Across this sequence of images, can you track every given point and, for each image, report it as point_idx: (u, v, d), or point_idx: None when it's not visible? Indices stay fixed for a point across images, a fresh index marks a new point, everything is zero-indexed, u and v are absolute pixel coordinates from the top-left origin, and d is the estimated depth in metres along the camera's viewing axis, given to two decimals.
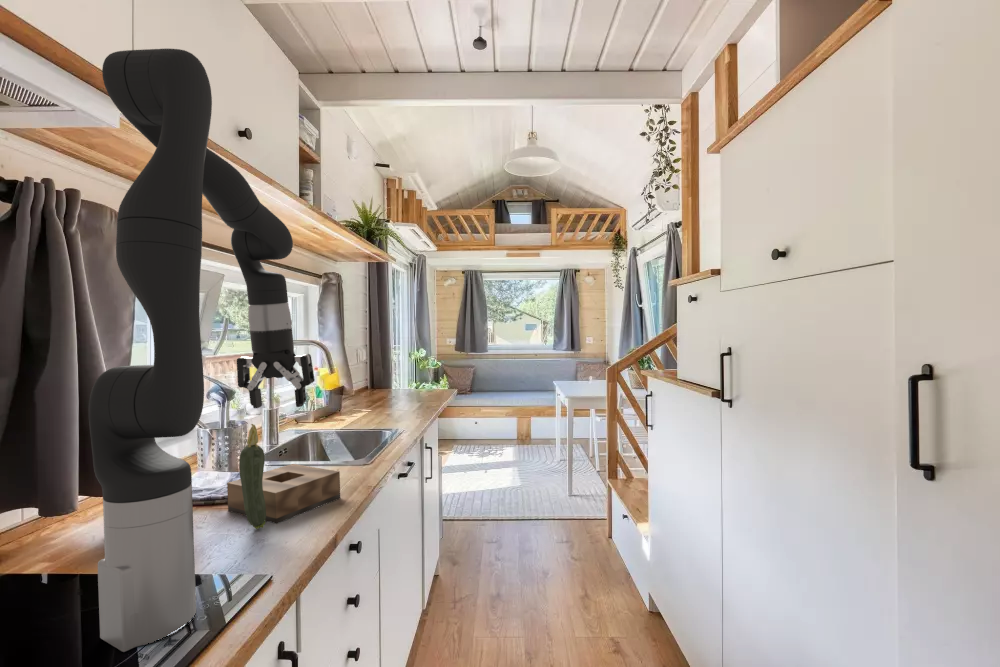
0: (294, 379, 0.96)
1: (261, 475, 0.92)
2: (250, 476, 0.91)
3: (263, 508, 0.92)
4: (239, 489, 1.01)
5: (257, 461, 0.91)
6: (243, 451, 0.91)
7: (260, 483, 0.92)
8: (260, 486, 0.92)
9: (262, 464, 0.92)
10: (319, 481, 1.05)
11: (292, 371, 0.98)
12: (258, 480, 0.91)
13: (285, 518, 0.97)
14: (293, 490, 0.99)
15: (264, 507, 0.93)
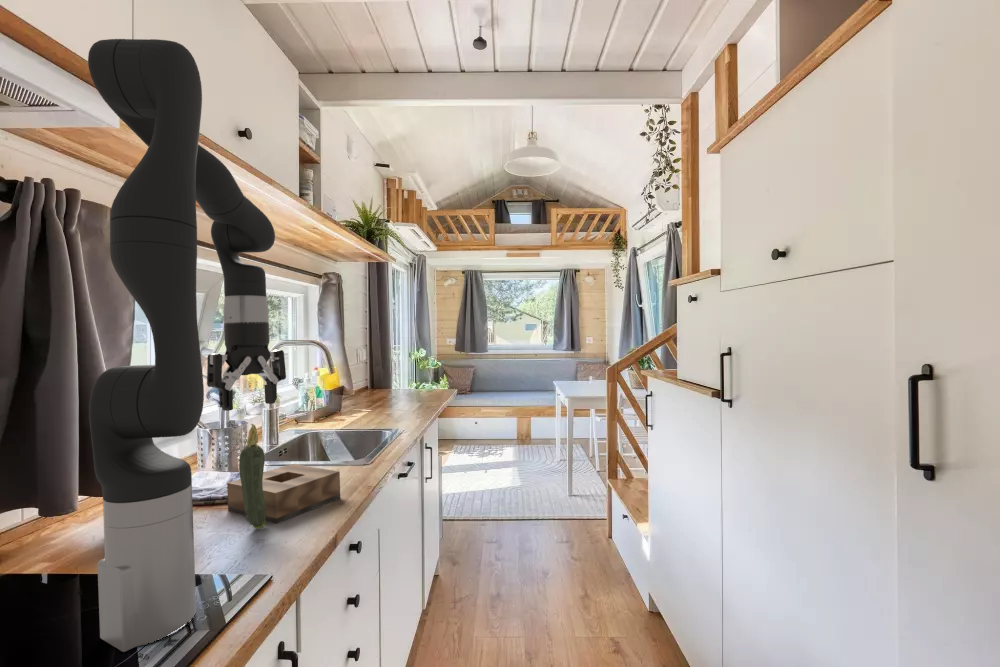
0: (272, 374, 0.95)
1: (261, 475, 0.92)
2: (250, 476, 0.91)
3: (263, 508, 0.92)
4: (239, 489, 1.01)
5: (257, 461, 0.91)
6: (243, 451, 0.91)
7: (260, 483, 0.92)
8: (260, 486, 0.92)
9: (262, 464, 0.92)
10: (319, 481, 1.05)
11: None
12: (258, 480, 0.91)
13: (285, 518, 0.97)
14: (293, 490, 0.99)
15: (264, 507, 0.93)
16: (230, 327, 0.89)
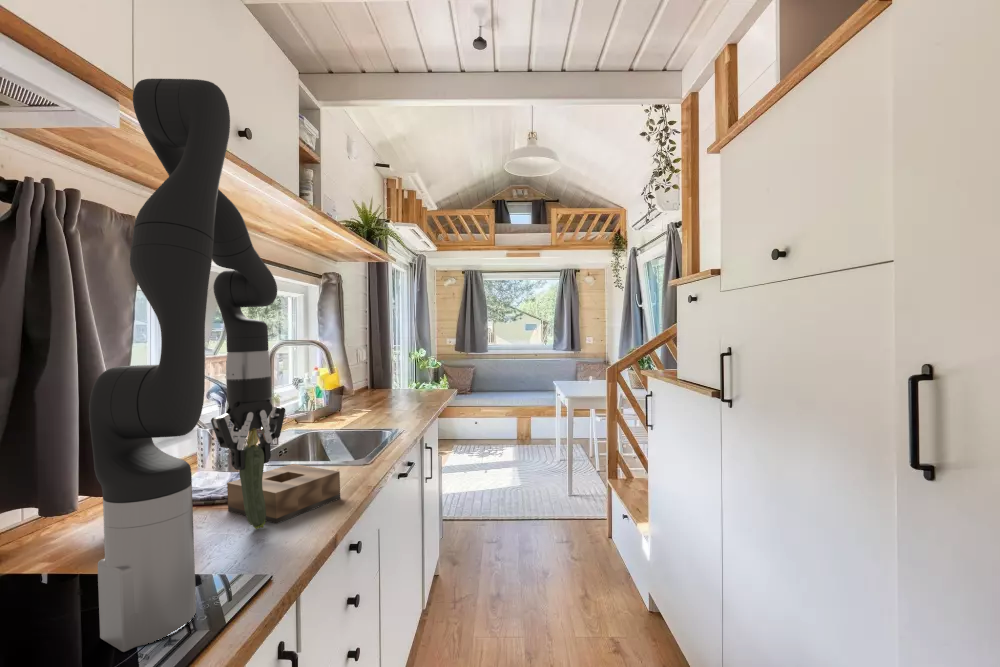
0: (268, 432, 0.94)
1: (261, 475, 0.92)
2: (250, 476, 0.90)
3: (263, 508, 0.92)
4: (239, 489, 1.01)
5: (257, 461, 0.91)
6: None
7: (260, 483, 0.92)
8: (260, 486, 0.92)
9: (262, 464, 0.92)
10: (319, 481, 1.05)
11: None
12: (258, 480, 0.91)
13: (285, 518, 0.97)
14: (293, 490, 0.99)
15: (264, 507, 0.93)
16: (232, 384, 0.89)
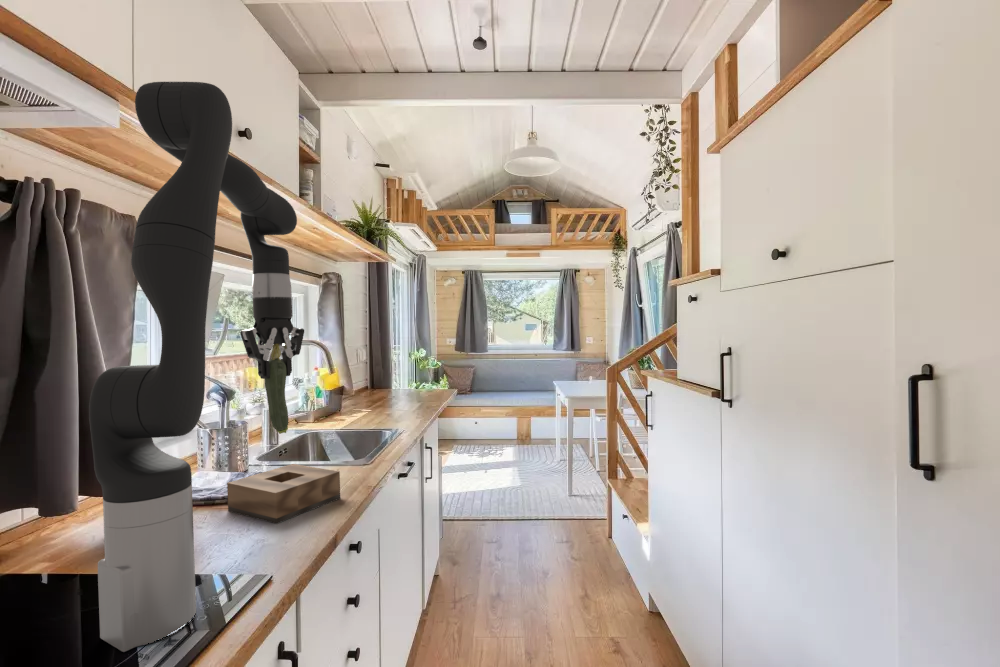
0: (290, 348, 1.05)
1: (284, 385, 1.03)
2: (274, 384, 1.02)
3: (286, 414, 1.03)
4: (239, 489, 1.01)
5: (280, 372, 1.02)
6: None
7: (283, 392, 1.03)
8: (283, 395, 1.03)
9: (284, 375, 1.03)
10: (319, 481, 1.05)
11: None
12: (281, 389, 1.02)
13: (285, 518, 0.97)
14: (293, 490, 0.99)
15: (287, 414, 1.04)
16: (258, 301, 1.00)
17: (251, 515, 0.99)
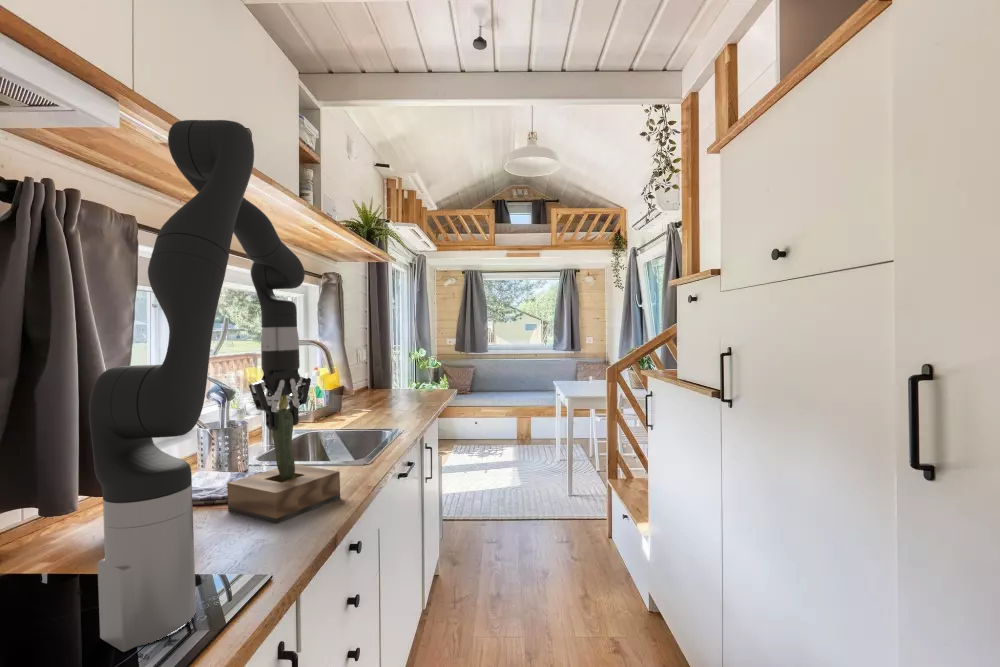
0: (297, 398, 1.08)
1: (291, 435, 1.06)
2: (282, 435, 1.04)
3: (293, 463, 1.06)
4: (239, 489, 1.01)
5: (288, 422, 1.05)
6: None
7: (290, 442, 1.06)
8: (290, 444, 1.06)
9: (291, 425, 1.06)
10: (319, 481, 1.05)
11: None
12: (288, 439, 1.05)
13: (285, 518, 0.97)
14: (293, 490, 0.99)
15: (293, 463, 1.06)
16: (267, 354, 1.03)
17: (251, 515, 0.99)
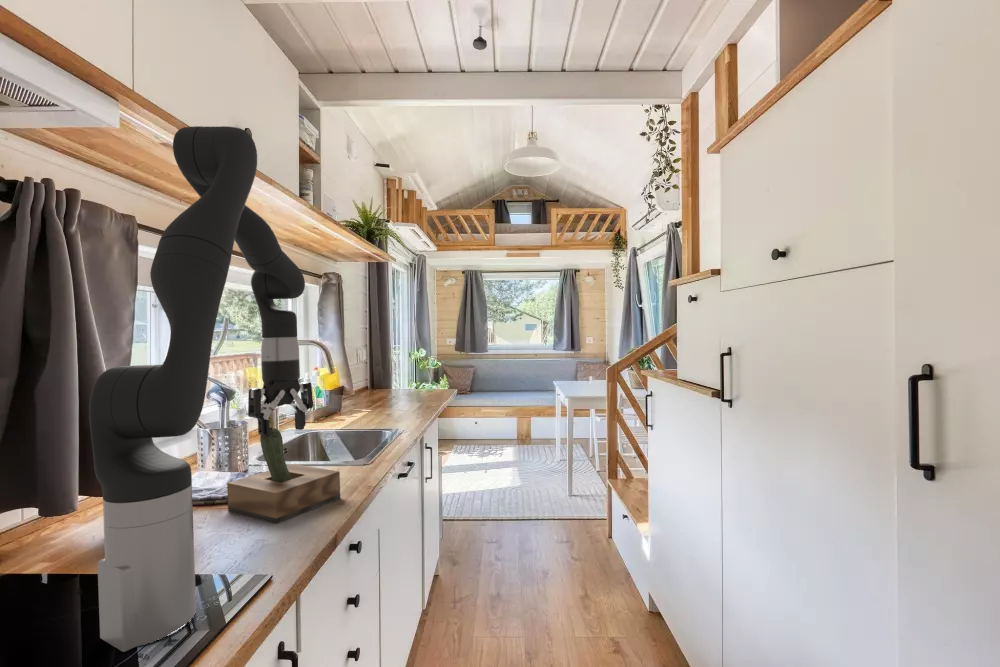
0: (302, 404, 1.09)
1: (282, 452, 1.05)
2: (273, 454, 1.03)
3: None
4: (239, 489, 1.01)
5: (276, 440, 1.04)
6: None
7: (282, 459, 1.05)
8: (283, 461, 1.05)
9: (281, 443, 1.05)
10: (319, 481, 1.05)
11: None
12: (280, 457, 1.04)
13: (285, 518, 0.97)
14: (293, 490, 0.99)
15: (290, 479, 1.06)
16: (267, 365, 1.03)
17: (251, 515, 0.99)
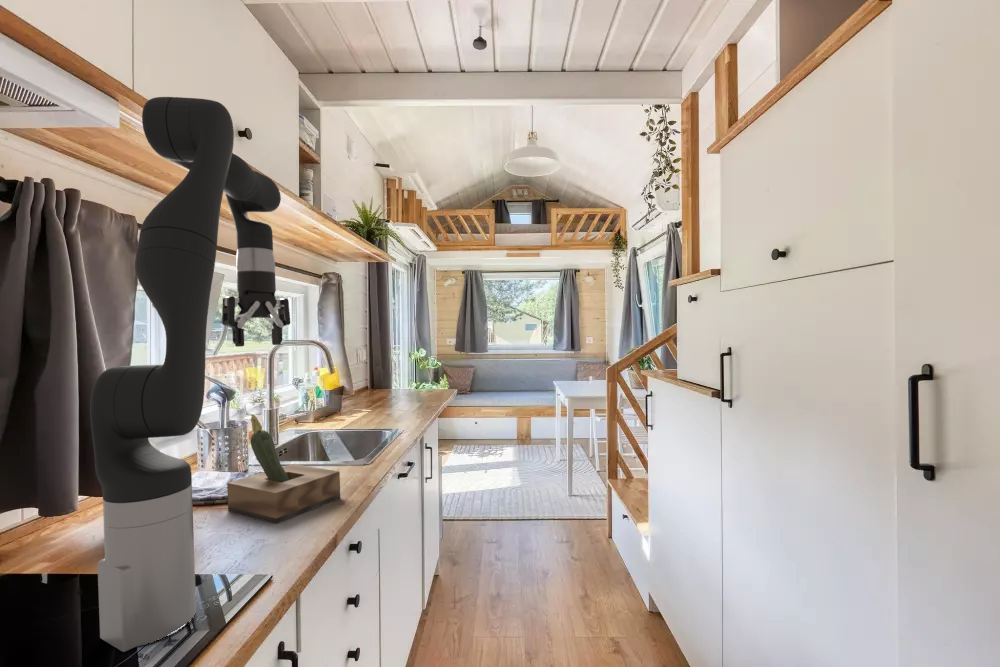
0: (278, 319, 1.09)
1: (275, 453, 1.05)
2: (266, 456, 1.03)
3: (287, 479, 1.06)
4: (239, 489, 1.01)
5: (267, 442, 1.04)
6: (252, 438, 1.03)
7: (276, 460, 1.05)
8: (277, 462, 1.05)
9: (272, 444, 1.05)
10: (319, 481, 1.05)
11: None
12: (274, 458, 1.04)
13: (285, 518, 0.97)
14: (293, 490, 0.99)
15: (287, 478, 1.06)
16: (242, 275, 1.03)
17: (251, 515, 0.99)
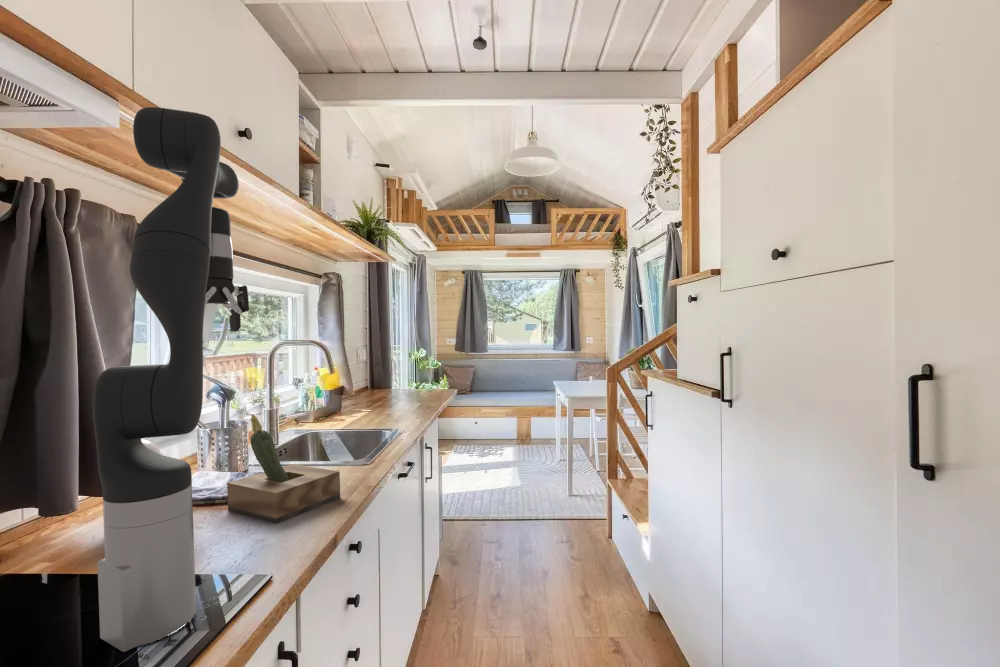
0: (236, 305, 1.09)
1: (275, 453, 1.05)
2: (266, 456, 1.03)
3: (287, 479, 1.06)
4: (239, 489, 1.01)
5: (267, 442, 1.04)
6: (252, 438, 1.03)
7: (276, 460, 1.05)
8: (277, 462, 1.05)
9: (272, 444, 1.05)
10: (319, 481, 1.05)
11: None
12: (274, 458, 1.04)
13: (285, 518, 0.97)
14: (293, 490, 0.99)
15: (287, 478, 1.06)
16: None
17: (251, 515, 0.99)
